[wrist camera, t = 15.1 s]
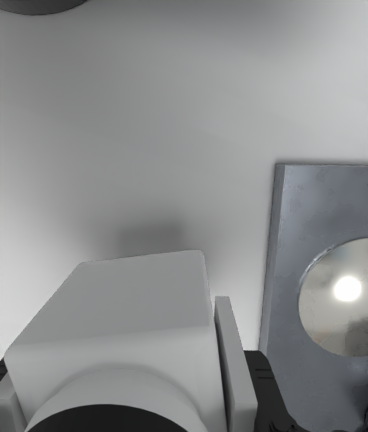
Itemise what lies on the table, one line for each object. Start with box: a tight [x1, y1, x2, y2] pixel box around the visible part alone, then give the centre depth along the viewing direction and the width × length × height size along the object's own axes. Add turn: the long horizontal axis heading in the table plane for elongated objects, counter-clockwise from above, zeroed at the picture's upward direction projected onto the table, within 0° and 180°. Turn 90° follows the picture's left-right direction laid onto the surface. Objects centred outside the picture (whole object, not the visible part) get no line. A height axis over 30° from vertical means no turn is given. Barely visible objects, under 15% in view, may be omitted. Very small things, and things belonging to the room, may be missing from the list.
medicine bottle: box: [4, 249, 227, 432], centre depth 11 cm, size 7×7×12 cm
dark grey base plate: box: [259, 164, 368, 432], centre depth 23 cm, size 26×16×2 cm, turn 179°
